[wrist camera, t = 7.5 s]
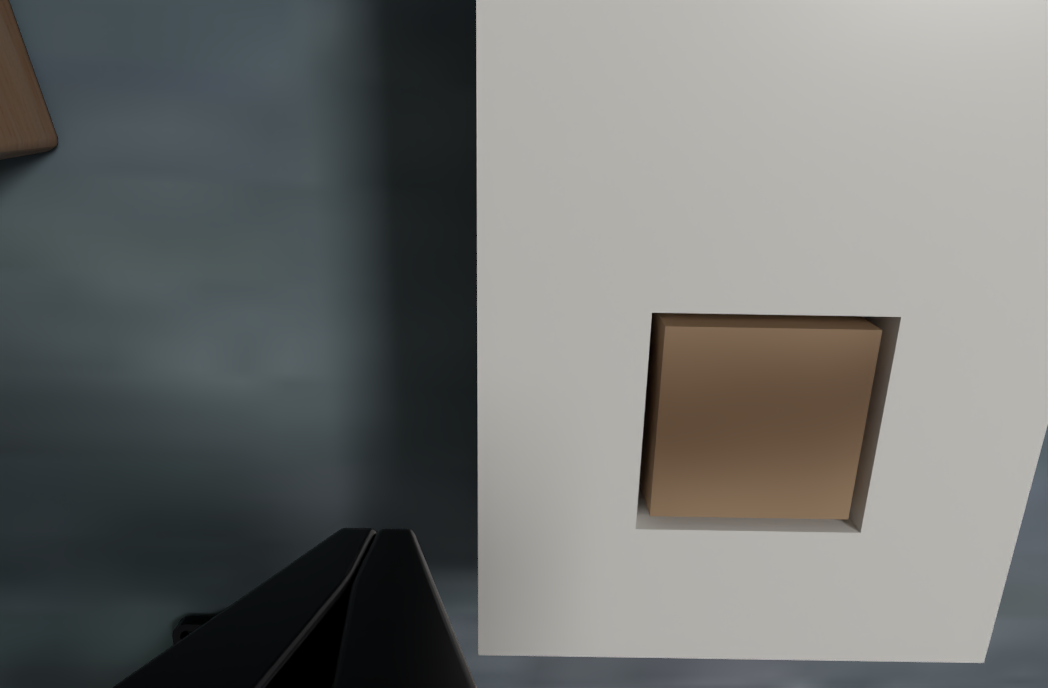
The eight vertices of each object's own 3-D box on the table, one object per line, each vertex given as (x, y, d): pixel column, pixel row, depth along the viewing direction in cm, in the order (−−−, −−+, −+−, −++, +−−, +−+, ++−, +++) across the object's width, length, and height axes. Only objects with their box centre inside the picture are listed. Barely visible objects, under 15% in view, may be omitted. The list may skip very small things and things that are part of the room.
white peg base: (871, 523, 23) (983, 662, 18) (489, 517, 23) (477, 655, 17) (1062, -467, 16) (1372, -793, 10) (492, -480, 15) (473, -813, 10)
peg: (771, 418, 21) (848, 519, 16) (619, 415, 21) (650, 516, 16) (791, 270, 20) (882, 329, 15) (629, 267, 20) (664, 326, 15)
